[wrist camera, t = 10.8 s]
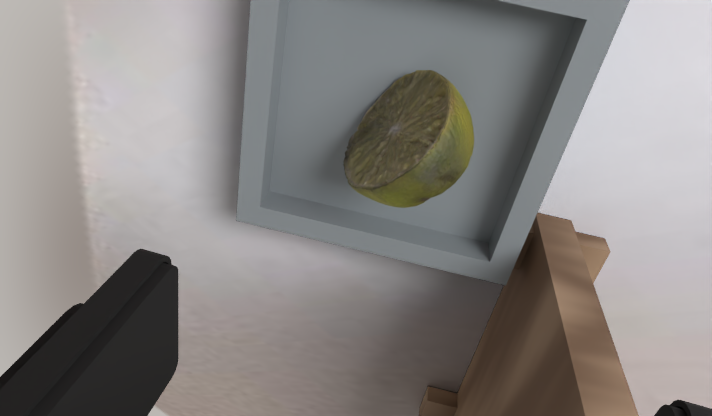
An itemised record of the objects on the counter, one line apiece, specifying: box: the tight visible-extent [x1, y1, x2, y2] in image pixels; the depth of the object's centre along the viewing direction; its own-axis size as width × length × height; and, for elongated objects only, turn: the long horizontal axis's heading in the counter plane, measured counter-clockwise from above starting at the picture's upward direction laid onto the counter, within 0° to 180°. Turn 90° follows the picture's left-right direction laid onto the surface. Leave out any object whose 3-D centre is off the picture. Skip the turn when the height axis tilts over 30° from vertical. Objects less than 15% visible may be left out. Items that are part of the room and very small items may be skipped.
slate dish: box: [236, 0, 630, 285], centre depth 21 cm, size 12×12×2 cm
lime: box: [343, 70, 474, 208], centre depth 19 cm, size 4×5×5 cm
